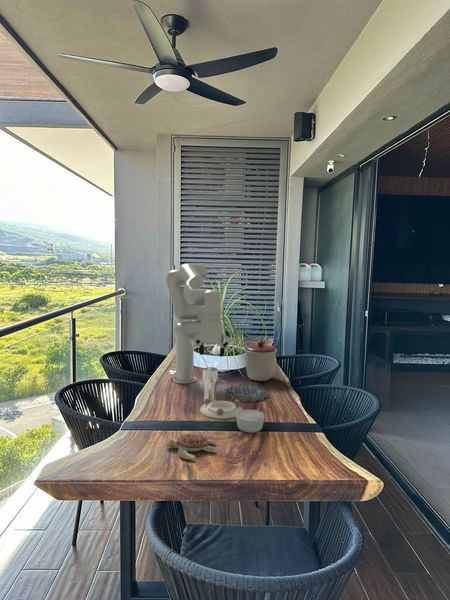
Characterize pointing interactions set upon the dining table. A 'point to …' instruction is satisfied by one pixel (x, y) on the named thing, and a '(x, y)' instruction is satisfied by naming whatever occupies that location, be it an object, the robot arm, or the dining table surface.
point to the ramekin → (250, 420)
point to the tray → (222, 405)
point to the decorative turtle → (190, 445)
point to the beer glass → (210, 383)
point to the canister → (260, 361)
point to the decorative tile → (246, 393)
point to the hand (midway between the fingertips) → (211, 355)
